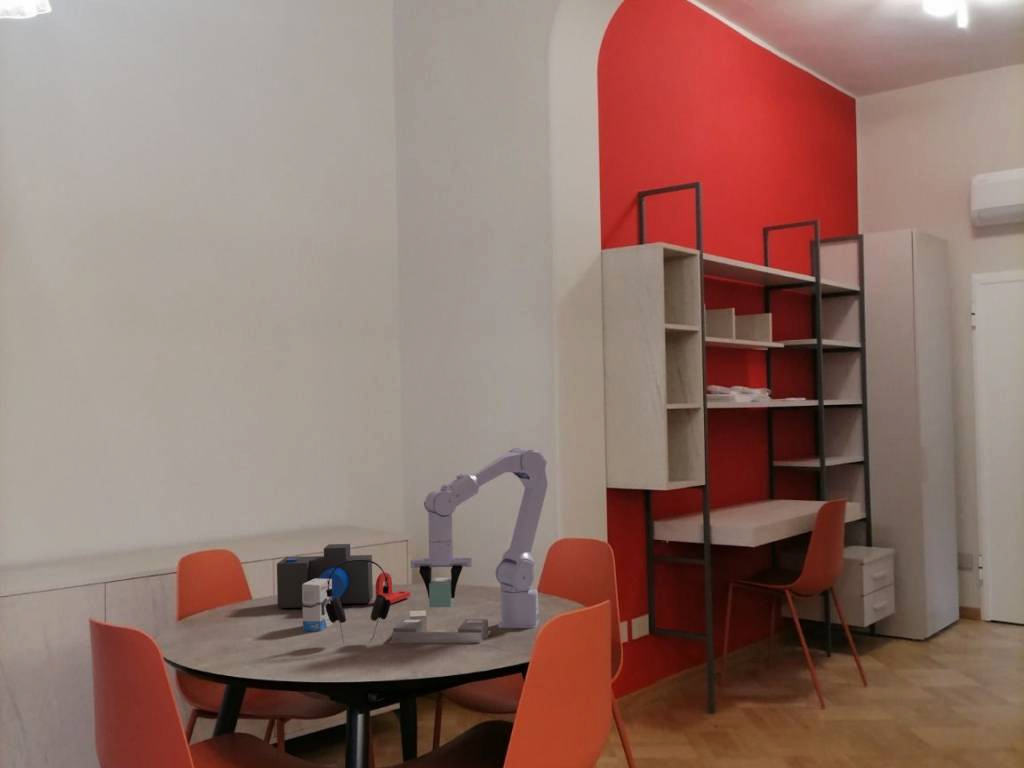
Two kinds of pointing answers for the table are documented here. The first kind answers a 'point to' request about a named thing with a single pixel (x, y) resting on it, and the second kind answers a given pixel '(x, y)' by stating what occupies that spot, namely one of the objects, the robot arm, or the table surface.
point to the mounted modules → (466, 626)
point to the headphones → (379, 606)
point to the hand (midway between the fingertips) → (441, 597)
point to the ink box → (315, 604)
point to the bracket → (390, 596)
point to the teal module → (440, 592)
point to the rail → (436, 637)
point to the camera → (325, 576)
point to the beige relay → (419, 616)
